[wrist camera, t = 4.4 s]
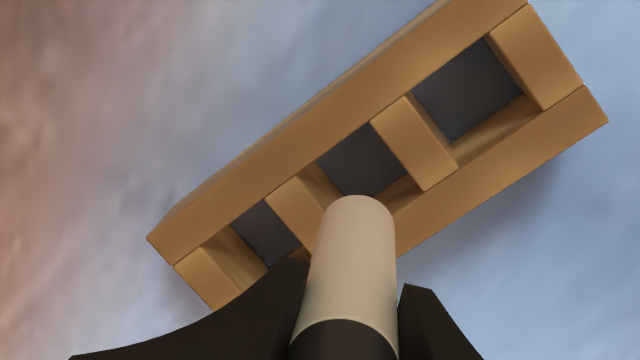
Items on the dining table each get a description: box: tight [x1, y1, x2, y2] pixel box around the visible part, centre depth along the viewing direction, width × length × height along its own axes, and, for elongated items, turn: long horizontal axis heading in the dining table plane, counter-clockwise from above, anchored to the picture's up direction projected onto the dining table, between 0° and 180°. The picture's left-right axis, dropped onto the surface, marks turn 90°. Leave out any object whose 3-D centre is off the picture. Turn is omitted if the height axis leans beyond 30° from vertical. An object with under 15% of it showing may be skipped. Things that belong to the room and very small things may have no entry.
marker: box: [285, 195, 399, 360], centre depth 14 cm, size 2×2×8 cm
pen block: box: [146, 0, 609, 312], centre depth 21 cm, size 6×15×3 cm, turn 129°
